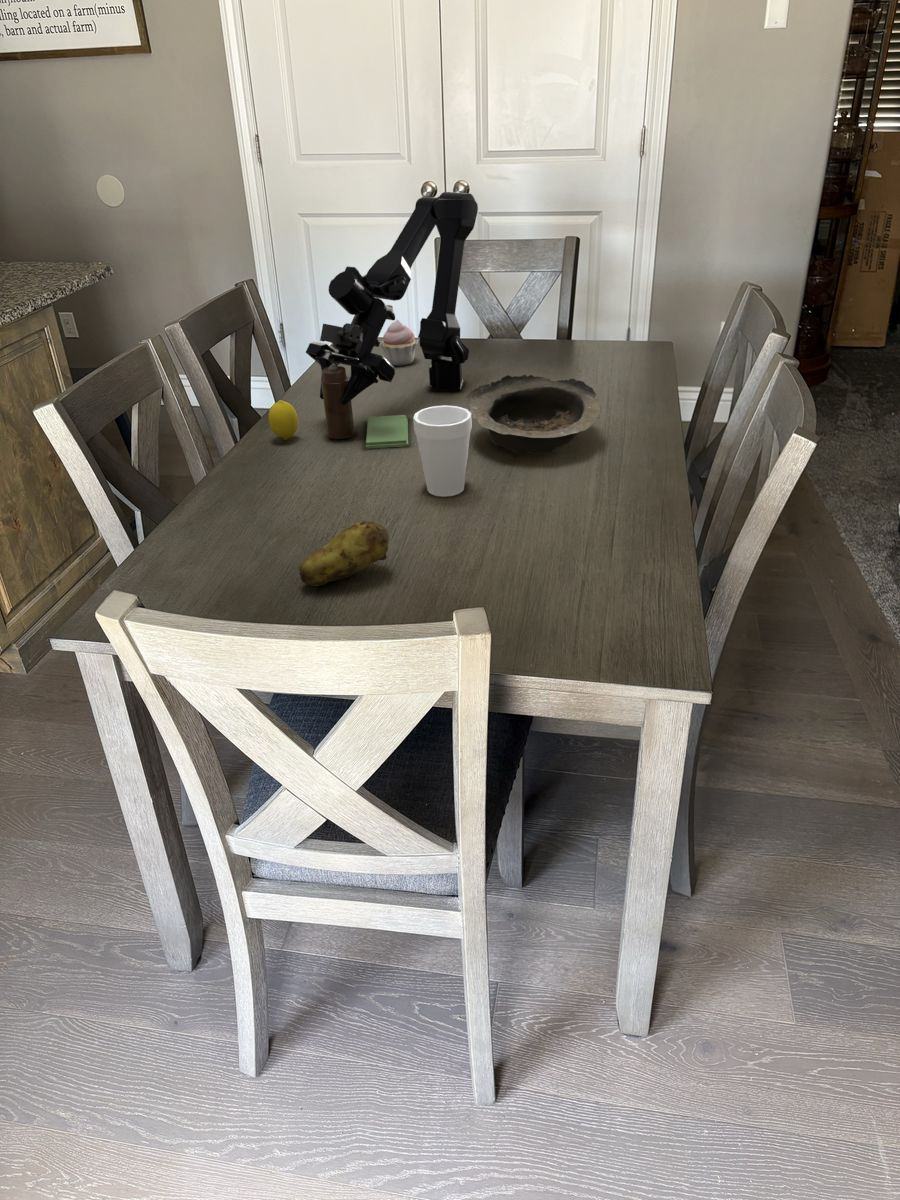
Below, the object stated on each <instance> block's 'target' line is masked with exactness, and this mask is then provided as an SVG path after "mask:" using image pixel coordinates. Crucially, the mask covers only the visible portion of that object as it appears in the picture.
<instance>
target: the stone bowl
mask: <svg viewBox="0 0 900 1200" xmlns="http://www.w3.org/2000/svg"><path fill="white" fill-rule="evenodd" d="M596 396H597V394H596V392H595V389H594V388H593V387H591V386H589V385H588V384H586V383H585V382H584V381H582V380H577V379H576V378H570V379H564V380H563V379H561V380H556V381H554V380H551V378H548V377H543V376H534V375H532V374H530V375H526V374H522V375H519V376H517V375H515V376H511V375H509V374H507V375H506V376H503V377H501V378H500V379H499V380H497V381H492V382H491V381H490V384H489V383H487V384H483V385H479V386H478V387H475V388H474V389H471V390H470V391H469V393H468V394H467V395H466V396H465V398H466V399H467V406H468V408H469V409H467V410H468V411H469V412H470V413H471V418H473V419H475V420H476V421H477V422H478V424H479V426H481V427H483V428H485V429H488V435H489V438H490V440H491V441H492V443H494V445H495V446H497V447H499V448H500V447H502V448H505V449H507V450H510V451H512V452H514V453H516V454H519V455H525V454H526V455H527V454H529V453H530V454H546V453H551V452H553V451H554V450H556V449H559V448H560V447H563V446H565V445H567V444H569V443H570V442H572V441H573V440H574V439H575V438H576V436H577V435H578V434H579V433H580V432H584V431H586V430H588V429H589V428H590V427H591V426H592V425H593V423H594V422H595V421H597V420H599V419H600V418H601V416H602V415H601V414H602V405H601V404H600V402H599V400H598V398H596Z"/></svg>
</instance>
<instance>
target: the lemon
mask: <svg viewBox="0 0 900 1200" xmlns="http://www.w3.org/2000/svg"><path fill="white" fill-rule="evenodd" d="M268 424H269V428H270V430H271V431H272V433H273V434H274V435H275V436H277V437H279V438H282V439H283V440H285V441H287V440H289V439H290V437H292V436H293V435H294V434H296V432H297V430H298V428H299V418H298V414H297V411H296V409H295V408H294V406H293V405H292V404H291V403H289V402H287V401H284V400H283V399H279V400H278V401H277V402H275V403H274V404H273V405H271V406H270V409H269V411H268Z"/></svg>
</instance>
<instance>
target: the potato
mask: <svg viewBox="0 0 900 1200" xmlns="http://www.w3.org/2000/svg"><path fill="white" fill-rule="evenodd" d="M389 543H390V534H389V532H388V530H387V529H386V527H385V526H384V525H382V524H380V523H377V522H375V521H373V520H372V521H371V520H365V519H364V520H358V521H355V522H354V523H352V524H351V525H349V526H347V527H345V528H344V529H343V530H341V531H340V532H339V533H337V534H336V535H335V536H334V537H333V538H332V539H331V540H330V541H328V542H327V543H326V544H325V545H323V546H322V547H320V548H318V549H316V550H314V551H313V552H312V553H310V554H309V555H308V556H307V557H305V558H304V560H302V562H301V563H300V564H299V567H298V571H299V576H300V580H301V582H302V583H304V584H306V585H307V586H312V587H313V586H314V587H319V586H324V585H326V584H327V583H329V582H336V581H339V580H345V579H347V578H349V577H352V576H353V575H356V574H357V573H359V572H361V571H362V570H364V569H365V568H367V567H368V566H371V565H372V564H374V563H376V562H378V561H385V560H386V559H387V558H388V556H387V553H388V550H389Z"/></svg>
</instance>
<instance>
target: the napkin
mask: <svg viewBox="0 0 900 1200" xmlns="http://www.w3.org/2000/svg"><path fill="white" fill-rule="evenodd" d="M408 421H409V420H408V417H407V415H406V414H397V415H396V414H395V415H382V416H381V415H380V416H368V417H367V428H366V439H365V449H367V450H368V449H369V450H371V449H386V448H387V449H388V448H402V447H409V427H408V426H409V424H408Z"/></svg>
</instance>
